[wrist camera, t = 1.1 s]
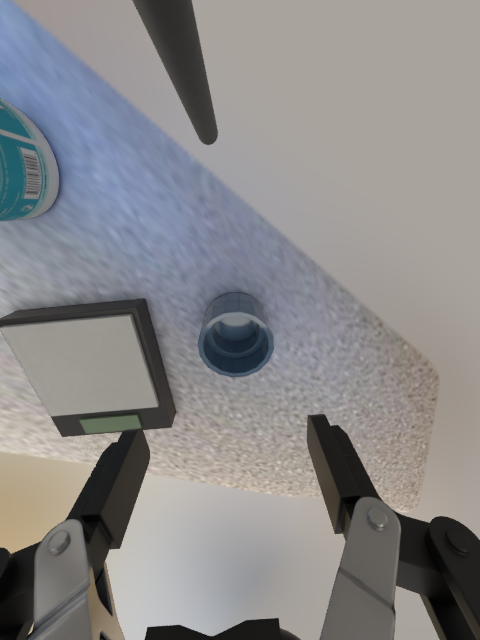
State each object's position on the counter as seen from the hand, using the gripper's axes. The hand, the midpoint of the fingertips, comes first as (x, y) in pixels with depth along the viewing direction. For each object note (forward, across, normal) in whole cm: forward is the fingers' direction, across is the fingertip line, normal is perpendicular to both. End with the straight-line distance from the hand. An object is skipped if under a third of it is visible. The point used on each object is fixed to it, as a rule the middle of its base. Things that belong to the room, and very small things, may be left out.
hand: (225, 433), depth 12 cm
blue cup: (+13, -1, 0) cm, 13 cm away
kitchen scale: (+13, +13, +4) cm, 19 cm away
